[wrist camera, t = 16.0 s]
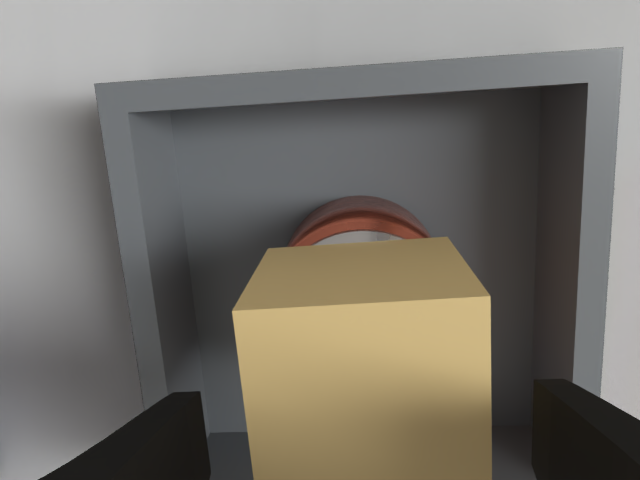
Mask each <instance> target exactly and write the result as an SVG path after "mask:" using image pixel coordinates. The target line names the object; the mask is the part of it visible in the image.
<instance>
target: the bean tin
mask: <svg viewBox="0 0 640 480" xmlns="http://www.w3.org/2000/svg"><path fill="white" fill-rule="evenodd" d="M419 238H431V236H430V234H429V233H428V231H427V230H426V228H425V227H424V226H423V224H422V223H421V222H420V221H419V220H418V219H417V218H416V217H415V216H414V215H413V214H412V213H410V212H409V211H408V210H407V209H405V208H403V207H402V206H400V205H398V204H396V203H394V202H392V201H389V200H386V199H383V198H379V197H374V196H361V195H357V196H348V197H343V198H339V199H336V200H333V201H331V202H328V203H326V204H324V205H322V206H320V207H319V208H317V209H316V210H314V211H313V212H312V213H310V214H309V215H308V216H307V217H306V218H305V219H304V220H303V221H302V222H301V223H300V225H299V226H298V227H297V228H296V230H295V232H294V233H293V235H292V237H291V239H290V241H289V243H288V245H287V247H297V246H312V245H327V244H342V243H358V242H373V241H388V240H403V239H419Z"/></svg>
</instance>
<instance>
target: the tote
mask: <svg viewBox="0 0 640 480" xmlns="http://www.w3.org/2000/svg"><path fill="white" fill-rule="evenodd" d="M622 59H623V47H615V48H601V49H586V50H572V51H557V52H543V53H529V54H514V55H500V56H485V57H471V58H457V59H442V60H428V61H413V62H399V63H384V64H370V65H356V66H341V67H327V68H312V69H298V70H284V71H269V72H255V73H240V74H226V75H211V76H197V77H183V78H168V79H154V80H139V81H125V82H111V83H96V84H94V86H95V93H96V99H97V106H98V112H99V119H100V125H101V132H102V138H103V145H104V151H105V157H106V164H107V170H108V177H109V183H110V190H111V196H112V203H113V209H114V216H115V222H116V229H117V235H118V242H119V248H120V255H121V261H122V268H123V274H124V281H125V287H126V294H127V300H128V307H129V313H130V319H131V326H132V332H133V339H134V345H135V352H136V358H137V365H138V371H139V378H140V384H141V391H142V397H143V404H144V410H147V409H148V408H150V407H151V406H152V405H154V404H155V403H157V402H158V401H160V400H161V399H163V398H164V397H166V396H168V395H169V394H171V393H173V392H191V391H200V392H201V399H202V407H203V414H204V422H205V429H206V437H207V444H208V452H209V459H210V467H211V475H210V479H209V480H254V478H253V471H252V463H251V455H250V447H249V440H248V432H247V424H246V416H245V408H244V401H243V393H242V385H241V377H240V370H239V362H238V354H237V346H236V338H235V331H234V323H233V315H232V310H233V308H234V307H235V305H236V303H237V301H238V300H239V298H240V296H241V294H242V293H243V291H244V289H245V288H246V286H247V284H248V282H249V281H250V279H251V277H252V275H253V274H254V272H255V270H256V268H257V267H258V265H259V263H260V262H261V260H262V258H263V256H264V255H265V253H266V251H267V249H268V248H281V247H287V245H288V243H289V241H290V239H291V237H292V235H293V233H294V232H295V230H296V228H297V227H298V226H299V225H300V223H301V222H302V221H303V220H304V219H305V218H306V217H307V216H308V215H309V214H310V213H312V212H313V211H314V210H316V209H317V208H319V207H320V206H322V205H324V204H326V203H328V202H331V201H333V200H336V199H339V198H343V197H348V196H357V195H361V196H374V197H379V198H383V199H386V200H389V201H392V202H394V203H396V204H398V205H400V206H402V207H403V208H405V209H407V210H408V211H409V212H410V213H412V214H413V215H414V216H415V217H416V218H417V219H418V220H419V221H420V222H421V223H422V224H423V226H424V227H425V228H426V230H427V231H428V233H429V234H430V236H431V238H434V237H448V238H449V240H450V241H451V242H452V244H453V245H454V246H455V248H456V249H457V251H458V252H459V253H460V255H461V256H462V257H463V259H464V260H465V262H466V263H467V264H468V266H469V267H470V268H471V270H472V271H473V273H474V274H475V275H476V277H477V278H478V279H479V281H480V282H481V284H482V285H483V286H484V288H485V289H486V290H487V292H488V293H489V295H490V296H491V416H492V480H537V479H536V476H535V473H534V470H533V467H532V465H531V460H532V422H533V384H534V379H566V380H568V381H570V382H572V383H574V384H576V385H578V386H580V387H582V388H584V389H585V390H587V391H589V392H591V393H593V394H594V395H596V396H598V397H600V393H601V378H602V363H603V347H604V332H605V317H606V302H607V287H608V271H609V256H610V241H611V226H612V211H613V195H614V180H615V165H616V150H617V135H618V119H619V104H620V89H621V74H622Z"/></svg>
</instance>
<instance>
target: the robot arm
mask: <svg viewBox="0 0 640 480" xmlns="http://www.w3.org/2000/svg"><path fill="white" fill-rule="evenodd" d="M531 465H532V467H533V470H534V473H535V476H536V479H537V480H640V420H638V419H637V418H635V417H633V416H631V415H629V414H628V413H626V412H624V411H622V410H621V409H619V408H617V407H615V406H614V405H612V404H610V403H608V402H607V401H605V400H603V399H601V398H600V397H598V396H596V395H594V394H593V393H591V392H589V391H587V390H585V389H584V388H582V387H580V386H578V385H576V384H574V383H572V382H570V381H568V380H566V379H534V384H533V422H532V460H531ZM210 475H211V467H210V459H209V452H208V444H207V437H206V429H205V422H204V414H203V407H202V399H201V392H200V391H191V392H173V393H171V394H169V395H168V396H166V397H164V398H163V399H161V400H160V401H158V402H157V403H155V404H154V405H152V406H151V407H150V408H148V409H147V410H145V411H144V412H142V413H141V414H140V415H138V416H137V417H135V418H134V419H133V420H131V421H130V422H128V423H127V424H125V425H124V426H123V427H121V428H120V429H118V430H117V431H115V432H114V433H113V434H111V435H110V436H108V437H107V438H105V439H104V440H102V441H101V442H99V443H98V444H96V445H94V446H93V447H91V448H90V449H88V450H87V451H85V452H84V453H82V454H80V455H79V456H77V457H76V458H74V459H73V460H71V461H70V462H68V463H66V464H65V465H63V466H61V467H60V468H58V469H56V470H54V471H53V472H51V473H49V474H47V475H46V476H44V477H42V478H40V479H38V480H209V479H210Z"/></svg>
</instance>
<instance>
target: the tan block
mask: <svg viewBox="0 0 640 480" xmlns="http://www.w3.org/2000/svg"><path fill="white" fill-rule="evenodd" d="M232 315H233V323H234V331H235V338H236V346H237V354H238V362H239V370H240V377H241V385H242V393H243V401H244V408H245V416H246V424H247V432H248V440H249V447H250V455H251V463H252V471H253V478H254V480H492V416H491V296H490V295H489V293H488V292H487V290H486V289H485V288H484V286H483V285H482V284H481V282H480V281H479V279H478V278H477V277H476V275H475V274H474V273H473V271H472V270H471V268H470V267H469V266H468V264H467V263H466V262H465V260H464V259H463V257H462V256H461V255H460V253H459V252H458V251H457V249H456V248H455V246H454V245H453V244H452V242H451V241H450V240H449V238H448V237H434V238H419V239H403V240H388V241H373V242H358V243H342V244H327V245H312V246H297V247H281V248H268V249H267V251H266V253H265V255H264V256H263V258H262V260H261V262H260V263H259V265H258V267H257V268H256V270H255V272H254V274H253V275H252V277H251V279H250V281H249V282H248V284H247V286H246V288H245V289H244V291H243V293H242V294H241V296H240V298H239V300H238V301H237V303H236V305H235V307H234V308H233V310H232Z"/></svg>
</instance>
